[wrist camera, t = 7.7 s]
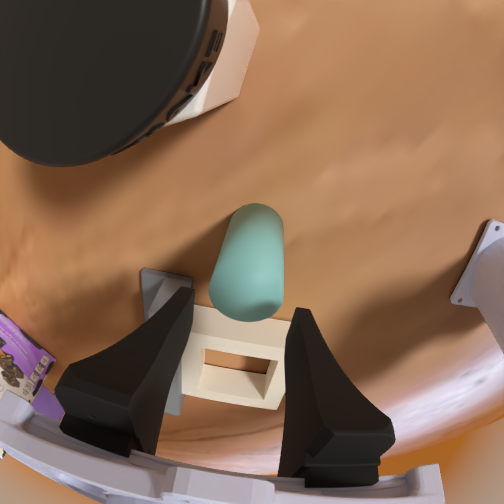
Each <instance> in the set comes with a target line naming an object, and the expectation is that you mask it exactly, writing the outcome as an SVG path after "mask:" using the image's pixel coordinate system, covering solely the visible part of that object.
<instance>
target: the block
mask: <svg viewBox="0 0 504 504" xmlns="http://www.w3.org/2000/svg"><path fill="white" fill-rule="evenodd" d="M290 324H291V322H289V321H283V320H277V319H271V318H267V319H264V320H261V321H256V322H241V321H237V320H234V319H231V318H229V317H227V316H225V315H223V314H222V313H221V312H219V311H218V310H217V309H215V308H210V307H205V306H200V305H195V304H194V313H193V324H192V328H191V332H190V335H189V339H188V342H187V345H186V347H185V350H184V352H183V355H182V394H186V395H191V396H196V397H200V398H205V399H210V400H216V401H221V402H227V403H232V404H239V405H245V406H252V407H259V408H266V409H274V410H277V408H278V406H279V404H280V402H281V399H282V397H283V395H284V393H285V370H284V352H285V340H286V336H287V333H288V330H289V327H290ZM205 348H207V349H212V350H217V351H222V352H228V353H233V354H239V355H245V356H251V357H257V358H263V359H270V360H271V361H270V364H269V367H268V370H267V373H266V375H265V374H258V373H252V372H246V371H240V370H234V369H228V368H223V367H218V366H212V365H207V364H204V359H205Z"/></svg>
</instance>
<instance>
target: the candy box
mask: <svg viewBox="0 0 504 504" xmlns="http://www.w3.org/2000/svg"><path fill="white" fill-rule="evenodd" d="M55 361H56V359H55V358H54V357H52V356H51V355H50V354H49V353H48V352H46V351H45V350H44V349H43V348H41V347H40V346H39V345H38V344H36V343H35V342H34V341H33V340H32V339H31V338H30V337H29V336H27V335H26V334H25V333H24V332H23V331H22V330H21V329H20V328H19V327H18V326H17V325H16V324H14V323H13V322H12V321H11V320H10V319H9V318H8V317H7V316H6V315H5V314H4V313H3V312H2V311H1V310H0V400H1V398H2V396H3V394H4V393H5V391H6V390H10V391H12V392H13V393H15V394H17V395H19V396H21V397H23V398H24V399H26V400H27V401H29V402H30V403H31V404H32V403H33V401H34V399H35V397H36V395H37V393H38V391H39V390H40V388H41V386H42V384H43V382H44V380H45V378H46V377H47V375H48V373H49V371H50V370H51V368H52V366H53V365H54V363H55ZM5 454H6V452H5V451H4V450H3V449H2V448H1V447H0V460H1V459H3V458H4V456H5Z"/></svg>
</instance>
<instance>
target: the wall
mask: <svg viewBox="0 0 504 504" xmlns="http://www.w3.org/2000/svg"><path fill="white" fill-rule="evenodd" d="M141 279H142V294H143V307H144V319H145V322H146V321H147V320H148V319H149V318H150V317H152V316H153V315H154V314H155V313H156V312H157V311H158V310H159V309H160V308H161V307H162V306H163V305H164V304H165V303H166V302H167V301H168V300H169V299H170V298H171V297H172V296H173V294H174V293H175V292H176V291H177V290H178V289H179V288H180V287H181V286H183V287H188V288H192V285H193V277H188V276H182V275H177V274H173V273H168V272H163V271H158V270H153V269H148V268H143V270H142V271H141ZM184 397H185V394H182V358H181V360H180V363H179V365H178V368H177V370H176V373H175V375H174V378H173V381H172V384H171V387H170V391H169V394H168V398H167V402H166V406H165V410H164V413H167V414H171V415H175V416H180V412H181V409H182V405H183V401H184Z"/></svg>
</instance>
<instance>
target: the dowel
mask: <svg viewBox="0 0 504 504" xmlns="http://www.w3.org/2000/svg"><path fill="white" fill-rule="evenodd" d="M283 288H284V240H283V222H282V220H281V217H280V216H279V214H278V213H277V212H276V211H275V210H274V209H272V208H271V207H269V206H266V205H263V204H258V203H253V204H248V205H245V206H242V207H241V208H239V209H238V210H237V211H236V212H235V213H234V214H233V216H232V217H231V220H230V223H229V226H228V229H227V232H226V235H225V238H224V241H223V244H222V247H221V250H220V253H219V256H218V259H217V262H216V266H215V269H214V272H213V275H212V278H211V281H210V284H209V296H210V300H211V302H212V303H213V305H214V306H215V308H216V309H217V310H218V311H219V312H221V313H222V314H223V315H225V316H227V317H229V318H231V319H234V320H237V321H241V322H256V321H261V320H264V319H267V318H269V317H270V316H272V315H273V314H274V313H276V312H277V310H278V309H279V308H280V306H281V304H282V302H283Z"/></svg>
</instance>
